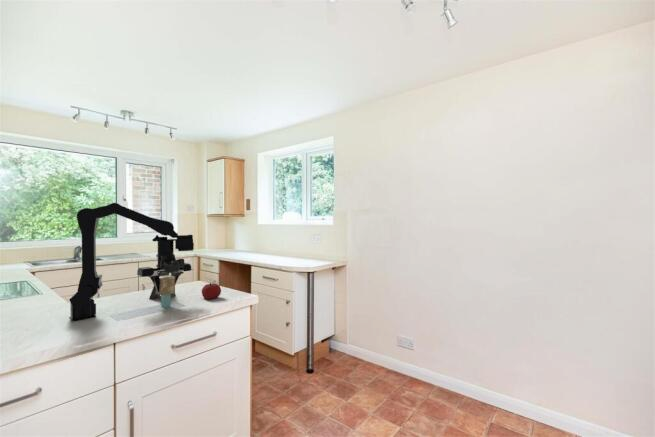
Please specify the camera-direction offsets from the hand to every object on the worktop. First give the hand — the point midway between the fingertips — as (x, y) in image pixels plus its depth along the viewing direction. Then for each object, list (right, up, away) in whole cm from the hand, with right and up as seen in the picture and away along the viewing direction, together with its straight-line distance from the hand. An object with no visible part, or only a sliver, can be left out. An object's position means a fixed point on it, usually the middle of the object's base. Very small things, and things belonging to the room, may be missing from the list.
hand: (165, 290), depth 123 cm
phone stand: (-9, -7, +14) cm, 18 cm away
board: (-4, -7, -5) cm, 9 cm away
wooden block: (0, -1, 0) cm, 1 cm away
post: (0, -7, 0) cm, 7 cm away
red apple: (+13, -7, +14) cm, 20 cm away
